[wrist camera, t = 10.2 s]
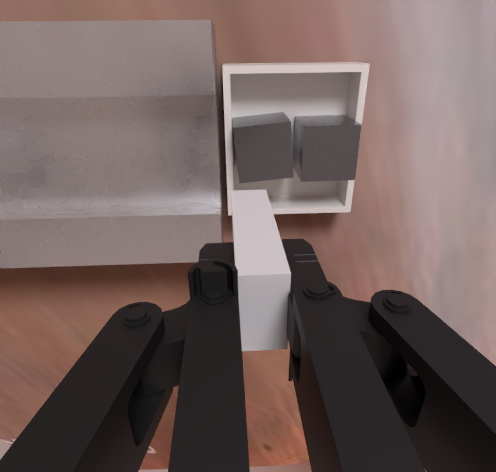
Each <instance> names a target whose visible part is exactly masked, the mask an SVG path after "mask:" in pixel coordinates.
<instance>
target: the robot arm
mask: <svg viewBox="0 0 496 472" xmlns="http://www.w3.org/2000/svg"><path fill="white" fill-rule="evenodd" d="M231 199H232V229H233V242H228V243H206V244H205V245H204V246H203V247H202V248H201V250H200V251H199V260H198V263H196V264H195V265H193V266H192V267H191V268H190V269H189V271H188V280H189V290H190V301H188V302H187V303H186V304H184V305H182V306H181V307H178V308H176V309H173V310H169V311H165V312H162V310H161V308H160V307H158V306H157V305H156V304H153V303H149V302H137V303H133V304H129V305H127V306H125V307H123V308H121V309H119V310H118V311H117V312H116V313H115V314H113V316H112V317H111V318H110V319H109V321H108V322H107V323H106V325H105V326H104V327H103V328H102V330H101V331H100V332H99V334H98V335H97V336H96V337H95V339H94V340H93V341H92V343H91V344H90V345H89V346H88V348H87V349H86V350H85V352H84V353H83V354H82V355H81V357H80V358H79V359H78V361H77V362H76V363H75V364H74V366H73V367H72V368H71V370H70V371H69V372H68V373H67V375H66V376H65V377H64V379H63V380H62V381H61V382H60V384H59V385H58V386H57V388H56V389H55V390H54V391H53V393H52V394H51V395H50V397H49V398H48V399H47V400H46V402H45V403H44V404H43V406H42V407H41V408H40V409H39V411H38V412H37V413H36V415H35V416H34V417H33V418H32V420H31V421H30V422H29V424H28V425H27V426H26V428H25V429H24V430H23V431H22V433H21V434H20V435H19V437H18V438H17V439H16V440H15V442H14V443H13V444H12V446H11V447H10V448H9V450H8V451H7V452H6V453H5V455H4V456H3V457H2V459H1V460H0V472H138V471H139V468H140V466H141V464H142V461H143V459H144V457H145V454H146V452H147V450H148V447H149V445H150V443H151V440H152V438H153V436H154V433H155V431H156V429H157V427H158V424H159V422H160V420H161V417H162V415H163V413H164V410H165V408H166V406H167V403H168V401H169V399H170V396H171V394H172V391H173V387H175V386H178V385H179V390H178V398H177V406H176V414H175V422H174V430H173V437H172V445H171V453H170V461H169V469H168V472H249V455H248V440H247V424H246V408H245V392H244V377H243V361H242V351H256V350H276V349H287V343H288V341H289V345H290V362H289V380H288V381H292V377H293V382H294V387H295V391H296V396H297V401H298V406H299V411H300V416H301V421H302V426H303V430H304V435H305V440H306V445H307V450H308V455H309V460H310V465H311V469H312V472H426V471H427V472H496V366H495V365H494V364H492V363H491V362H490V361H489V360H488V359H487V358H485V357H484V356H483V355H482V354H481V353H480V352H478V351H477V350H476V349H475V348H474V347H473V346H471V345H470V344H469V343H468V342H467V341H466V340H464V339H463V338H462V337H461V336H460V335H458V334H457V333H456V332H455V331H454V330H453V329H451V328H450V327H449V326H448V325H447V324H446V323H444V322H443V321H442V320H441V319H440V318H439V317H437V316H436V315H435V314H434V313H433V312H432V311H430V310H429V309H428V308H427V307H426V306H425V305H423V304H422V303H421V302H420V301H419V300H417V299H416V298H414V297H413V296H411V295H409V294H406V293H404V292H401V291H395V290H382V291H379V292H377V293H375V294H374V295H373V296H372V297H371V302H364V301H358V300H353V299H349V298H346V297H343V296H342V294H341V292H340V290H339V289H338V288H337V286H335V285H334V284H332V283H330V282H328V281H327V280H326V277H325V275H324V273H323V270H322V268H321V266H320V264H319V261H318V259H317V257H316V255H315V252H314V250H313V248H312V246H311V245H310V244H309V243H308V242H306V241H305V240H304V239H282V240H281V238H280V235H279V231H278V228H277V224H276V221H275V218H274V214H273V211H272V208H271V204H270V201H269V198H268V194H267V191H266V190H233V191H231ZM410 366H411V367H412V368H413V369H412V368H411V367H410ZM425 470H426V471H425Z"/></svg>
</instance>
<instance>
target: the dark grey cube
mask: <svg viewBox="0 0 496 472" xmlns="http://www.w3.org/2000/svg"><path fill="white" fill-rule="evenodd" d="M360 133H361V124H360V123H358V122H356V121H355V120H353V119H351V118H350V117H348V116H346V115H320V116H295V124H294V148H293V167H294V169H295V171H296V173H297V175H298V177H299V179H300V181H301V182H310V181H342V180H355V174H356V166H357V158H358V149H359V141H360Z"/></svg>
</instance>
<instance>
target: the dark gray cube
mask: <svg viewBox="0 0 496 472" xmlns="http://www.w3.org/2000/svg"><path fill="white" fill-rule="evenodd" d="M232 121H233V134H234V143H235V151H236V160H237V168H238V176H239V183H248V182H257V181H266V180H275V179H284V178H293V177H294V175H293V153H292V132H291V121H290V119H289V118H288V117H287V116H286V114H285V113H284V112H278V113H269V114H260V115H252V116H243V117H234V118H232Z"/></svg>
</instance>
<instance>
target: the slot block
mask: <svg viewBox="0 0 496 472" xmlns="http://www.w3.org/2000/svg"><path fill="white" fill-rule="evenodd" d="M223 235H224V221H223V199H222V177H221V155H220V133H219V111H218V89H217V67H216V44H215V25H214V24H213V22H212V21H211V20H141V21H30V22H0V268H29V267H61V266H93V265H125V264H156V263H188V262H198V260H199V251H200V250H201V248H202V247H203V246H204V245H205V244H206V243H223Z"/></svg>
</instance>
